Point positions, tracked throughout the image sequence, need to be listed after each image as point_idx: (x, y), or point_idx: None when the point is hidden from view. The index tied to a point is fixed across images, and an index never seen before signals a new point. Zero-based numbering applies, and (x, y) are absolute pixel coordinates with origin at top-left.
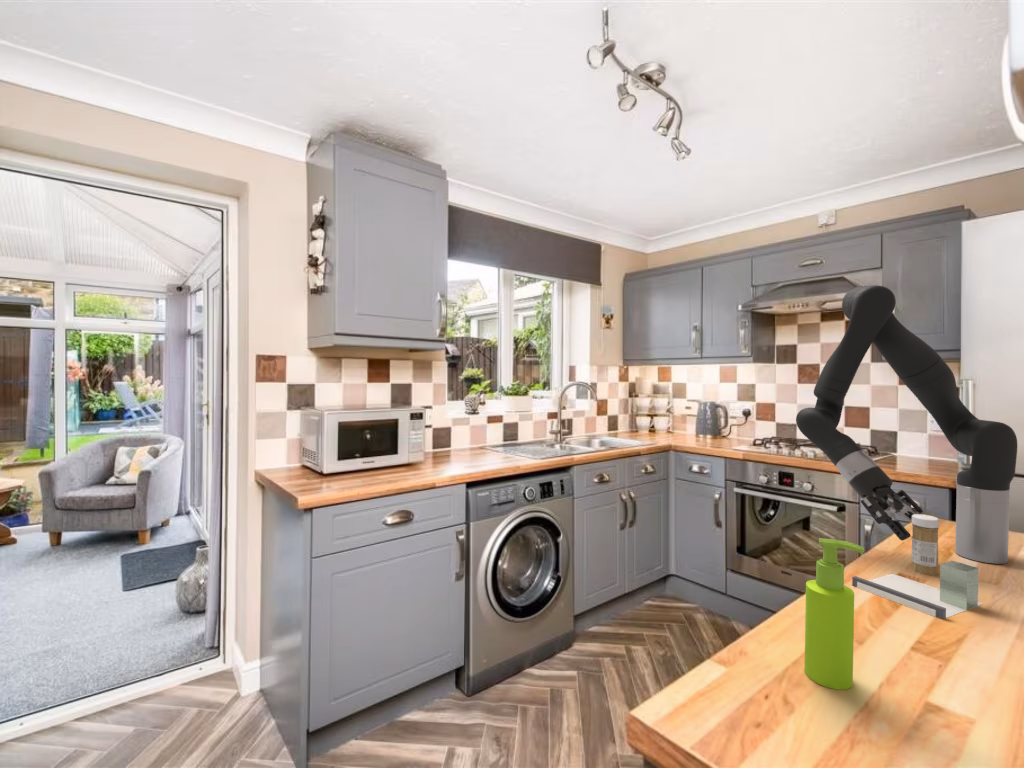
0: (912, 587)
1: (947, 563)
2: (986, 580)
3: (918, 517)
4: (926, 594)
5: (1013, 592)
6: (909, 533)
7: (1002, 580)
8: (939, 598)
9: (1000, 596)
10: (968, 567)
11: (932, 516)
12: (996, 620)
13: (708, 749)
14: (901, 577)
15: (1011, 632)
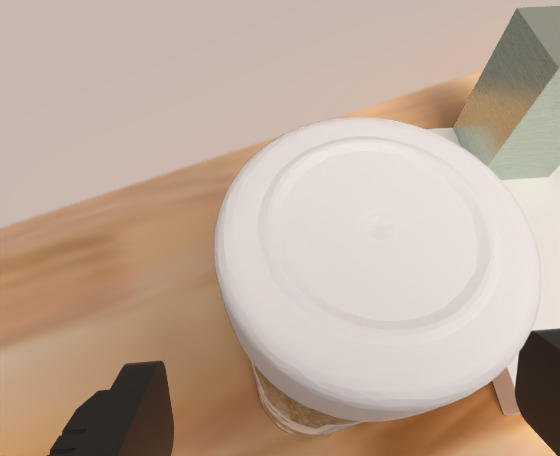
0: (558, 270)
1: None
2: (82, 270)
3: (524, 237)
4: (554, 216)
5: (143, 185)
6: (539, 337)
7: (25, 249)
8: (533, 185)
9: (226, 182)
10: (556, 19)
11: (262, 195)
12: (430, 115)
13: None
14: (517, 358)
15: (460, 82)
